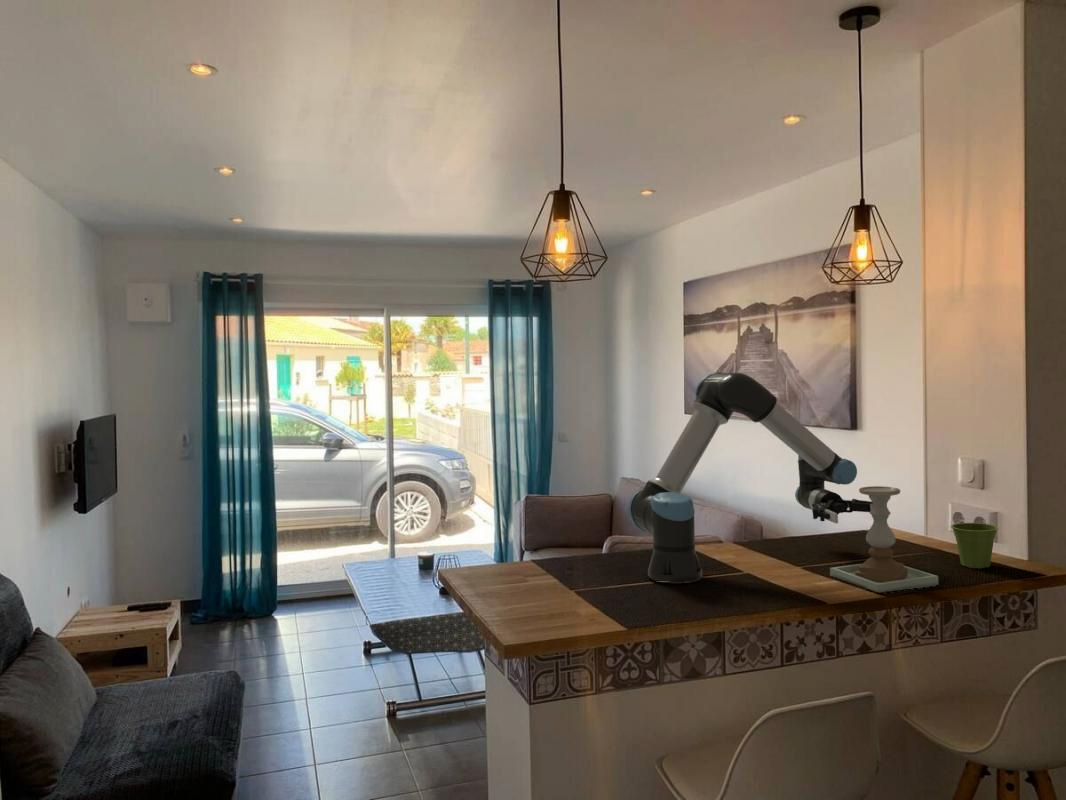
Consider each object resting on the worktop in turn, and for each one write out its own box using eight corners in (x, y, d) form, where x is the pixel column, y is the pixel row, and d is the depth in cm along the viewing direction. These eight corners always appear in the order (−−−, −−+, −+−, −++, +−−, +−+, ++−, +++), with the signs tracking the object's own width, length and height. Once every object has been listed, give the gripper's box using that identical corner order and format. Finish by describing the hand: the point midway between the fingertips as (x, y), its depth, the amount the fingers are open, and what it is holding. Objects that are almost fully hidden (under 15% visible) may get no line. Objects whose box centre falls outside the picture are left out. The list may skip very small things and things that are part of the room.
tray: (877, 594, 211) (877, 584, 211) (830, 576, 229) (829, 567, 229) (938, 585, 217) (938, 576, 217) (887, 569, 235) (887, 560, 235)
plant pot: (987, 560, 240) (986, 521, 240) (1006, 570, 228) (1006, 530, 228) (944, 561, 241) (944, 522, 241) (961, 571, 229) (961, 531, 229)
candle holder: (897, 584, 215) (895, 493, 214) (854, 579, 222) (852, 490, 221) (908, 575, 224) (906, 487, 223) (866, 570, 231) (864, 484, 230)
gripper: (866, 510, 254) (903, 523, 233) (787, 519, 252) (818, 534, 231) (864, 485, 254) (901, 497, 233) (785, 495, 252) (815, 507, 231)
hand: (859, 515), depth 232 cm, fingers open, 13 cm apart
